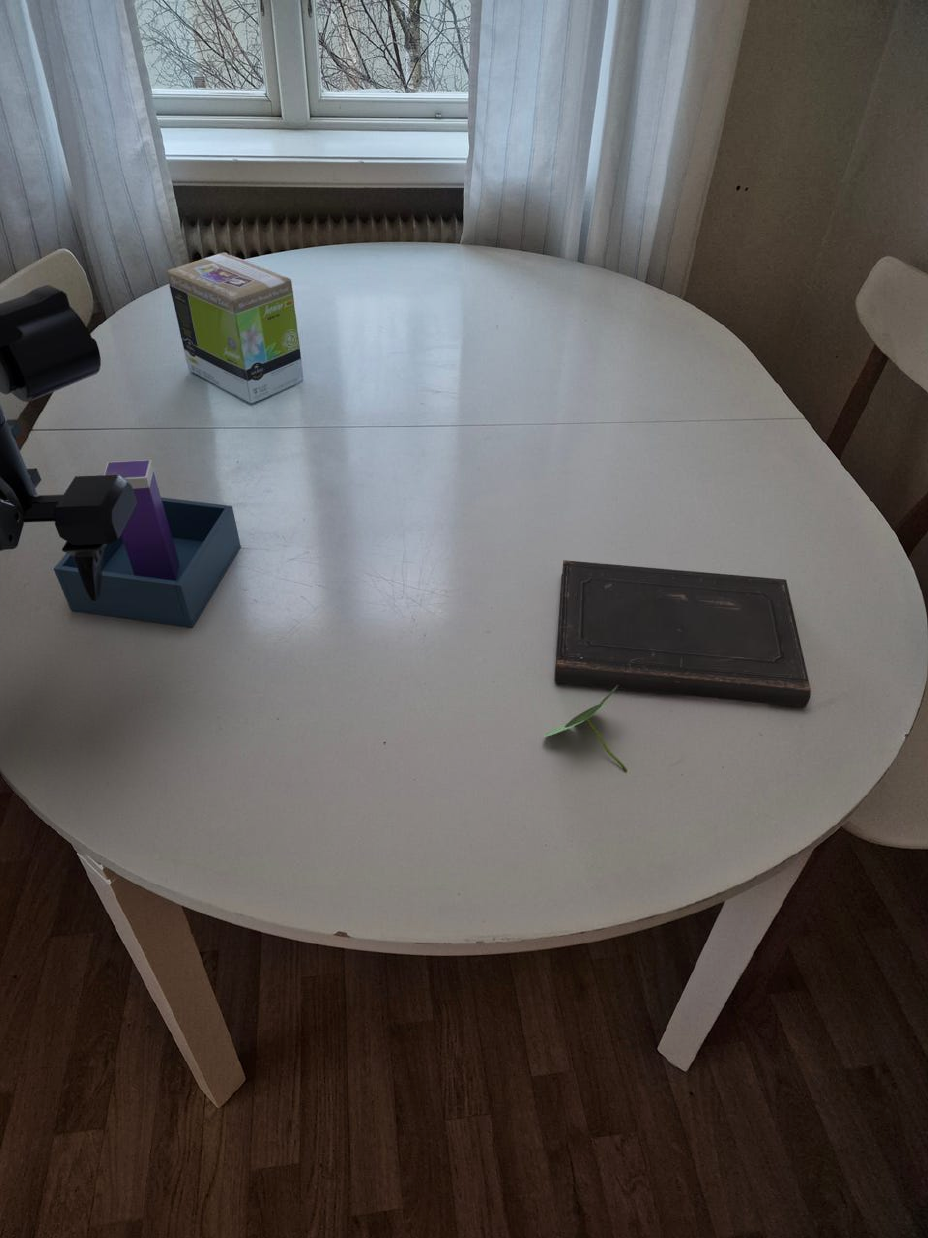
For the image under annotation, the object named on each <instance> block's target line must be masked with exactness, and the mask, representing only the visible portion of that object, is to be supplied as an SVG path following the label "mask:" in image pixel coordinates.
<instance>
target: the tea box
mask: <svg viewBox="0 0 928 1238" xmlns="http://www.w3.org/2000/svg"><path fill="white" fill-rule="evenodd" d="M166 275H167V279H168V286H169V290H170V295H171V298H172V302H173V307H174V312H175V316H176V320H177V325H178V330H179V335H180V339H181V343H182V347H183V352H184V358H185V361H186V364H187V369H188V371H189V372H192V373H193V374H195V375H197V376H199V377H201V378H202V379H204V380H207V381H208V382H210V383H212V384H214V385H216V386H217V387H220V388H221V389H223V390H225V391H227V392H228V393H231V395H232V394H233V395H234V396H236V397H238V398H240V399H242V400H243V401H246V402H247V403H249V404H255V403H257V402H259V401H261V400H264V399H267V398H269V397H271V396H272V395H275V394H277V393H280V392H282V391H284V390H286V389H289V388H291V387H293V386H295V385H297V384H299V383H301V382H303V381H304V371H303V363H302V362H303V361H302V355H301V354H302V353H301V346H300V345H301V344H300V339H299V332H298V321H297V313H296V307H295V299H294V290H293V284H292V283H293V282H292V279H291V278H289V277H288V276H285V275H282V274H280V273H277V272H275V271H272V270H269V269H267V268H265V267H261V266H260V265H257V264H254V263H252V262H250V261H248V260H244V259H242V258H239V257H236V256H234V255H231V254H229V253H227V252H226V251H225V252H224V251H223V252H220V253H217V254H214V255H210V256H208V257H204V258H201V259H198V260H195V261H193V262H190V263H187V264H183V265H180V266H177V267H173V268H170V269H168V270H166Z"/></svg>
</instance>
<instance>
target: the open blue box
mask: <svg viewBox="0 0 928 1238" xmlns="http://www.w3.org/2000/svg"><path fill="white" fill-rule="evenodd" d="M161 500H162V503H163V507H164V510H165V514H166V517H167V521H168V524H169V528H170V531H171V535H172V539H173V542H174V546H175V549H176V553H177V556H178V560H179V568H178V573H177V578H176V581H172V580H164V579H157V578H149V577H142V576H135V575H134V572H133V569H132V566H131V563H130V560H129V557H128V554H127V551H126V548H125V545H124V542H123V539H122V536H121V535H120V537H119V539H118V540H116V541H114V542H112V543H110V544H107V545H106V547H105V551H104V560H103V571H102V581H101V591H100V595H99V597H98V599H97V601H91V599H90V598H89V596H88V594H87V592H86V590H85V588H84V585H83V583H82V580H81V577H80V574H79V571H78V569H77V566H76V563H75V560H74V557H73V556H72V555H70V554H68V553H66V552H65V554H64V555H63V557H61V559H60V560H59V561H58V563H57V564H56V565H55V566H54V567H53V571H54V574H55V576H56V578H57V581H58V583H59V585H60V588H61V590H62V593H63V595H64V598H65V600H66V602H67V605H68V607H69V610H70V611H71V612H79V613H86V614H92V615H99V616H106V617H114V618H120V619H121V618H122V619H127V620H128V619H129V620H135V621H144V622H150V623H158V624H164V625H171V626H172V625H173V626H177V627H186V628H194V626H195V625H196V623H197V621H198V619H199V618H200V616H201V614H202V613H203V611H204V610H205V608H206V607H207V604H209V601H210V599H211V598H212V596H213V594H214V592H215V591H216V590H217V588H218V586H219V585H220V583H221V581H222V579H223V578H224V576H225V574H226V573H227V571H228V569H229V568H230V566H231V564H232V562H233V561H234V559H235V557H236V556H237V554H238V553H239V551H240V549H241V548H242V547H241V541H240V537H239V532H238V527H237V523H236V518H235V515H234V514H235V513H234V508H233V505H229V504H228V505H227V504H221V503H213V502H212V503H211V502H203V501H194V500H188V499H178V498H171V497H164V496H163V497H162V496H161Z"/></svg>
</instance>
